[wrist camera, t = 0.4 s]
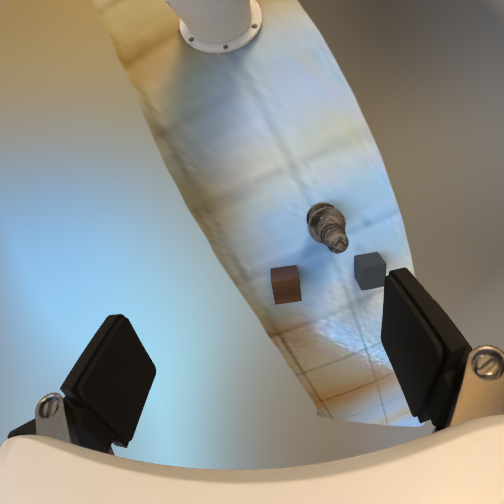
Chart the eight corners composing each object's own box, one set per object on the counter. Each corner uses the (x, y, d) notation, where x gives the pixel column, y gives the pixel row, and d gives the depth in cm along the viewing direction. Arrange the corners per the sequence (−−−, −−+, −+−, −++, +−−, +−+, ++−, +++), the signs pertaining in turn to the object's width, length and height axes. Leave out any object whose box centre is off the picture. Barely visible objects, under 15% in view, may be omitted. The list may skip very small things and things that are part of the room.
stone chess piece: (341, 231, 44) (364, 265, 34) (307, 237, 45) (321, 274, 34) (337, 198, 42) (362, 223, 31) (302, 204, 43) (316, 231, 32)
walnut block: (270, 268, 48) (271, 282, 44) (296, 264, 47) (299, 278, 43) (274, 290, 50) (275, 304, 46) (298, 286, 49) (301, 300, 45)
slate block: (354, 255, 46) (362, 268, 42) (377, 251, 46) (386, 263, 42) (354, 277, 48) (361, 290, 44) (376, 273, 48) (385, 286, 44)
